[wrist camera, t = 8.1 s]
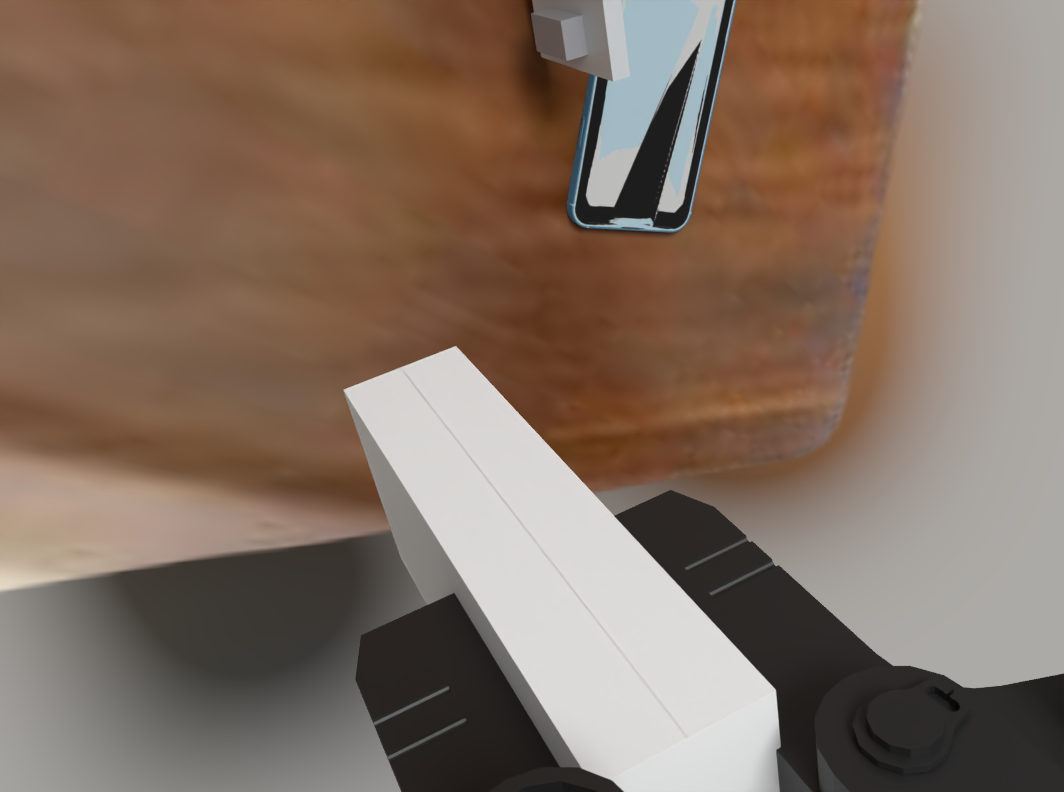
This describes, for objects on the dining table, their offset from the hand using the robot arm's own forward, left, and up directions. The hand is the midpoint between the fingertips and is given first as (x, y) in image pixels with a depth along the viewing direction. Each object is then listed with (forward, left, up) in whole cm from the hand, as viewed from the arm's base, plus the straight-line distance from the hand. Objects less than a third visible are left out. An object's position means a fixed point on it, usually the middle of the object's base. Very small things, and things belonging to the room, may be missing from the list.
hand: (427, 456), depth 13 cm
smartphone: (+23, -7, -35) cm, 42 cm away
